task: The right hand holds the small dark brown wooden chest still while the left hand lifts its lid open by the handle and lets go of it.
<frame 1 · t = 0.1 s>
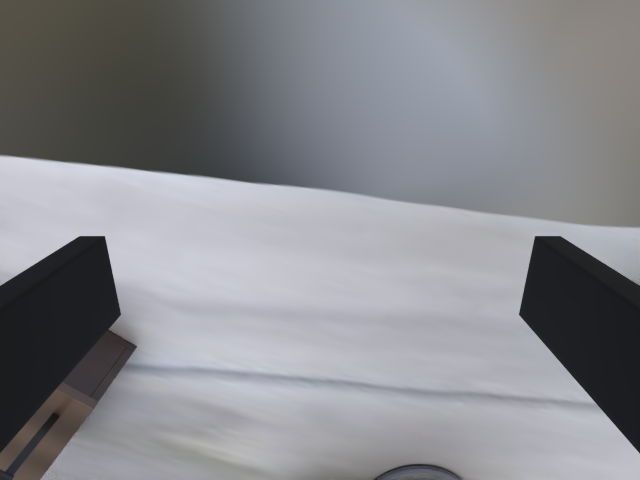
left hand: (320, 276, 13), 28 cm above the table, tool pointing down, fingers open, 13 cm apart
chest: (67, 372, 48), on the table
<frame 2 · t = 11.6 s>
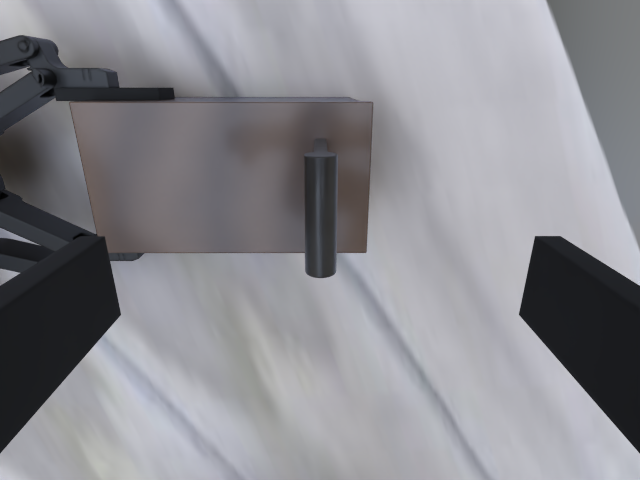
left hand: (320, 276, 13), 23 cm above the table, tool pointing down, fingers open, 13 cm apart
chest: (249, 155, 34), on the table, touching right hand
lid: (214, 196, 22), point 13 cm above the table, hinge at 0.0°
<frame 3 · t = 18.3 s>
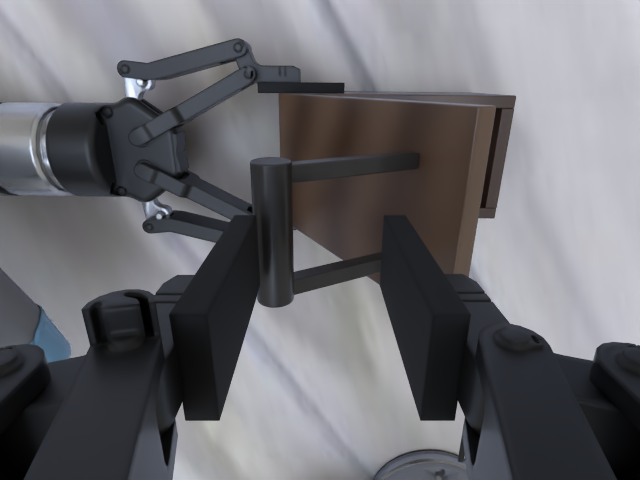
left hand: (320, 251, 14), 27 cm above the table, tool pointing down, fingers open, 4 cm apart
right hand: (341, 152, 33), fingers closed on chest, 9 cm apart
chest: (379, 142, 39), on the table, touching right hand
lid: (291, 190, 21), point 19 cm above the table, hinge at 60.2°
when the right hand's fingers open (6 cm above the table, at t = 20.9 s): chest stays where it is, on the table.
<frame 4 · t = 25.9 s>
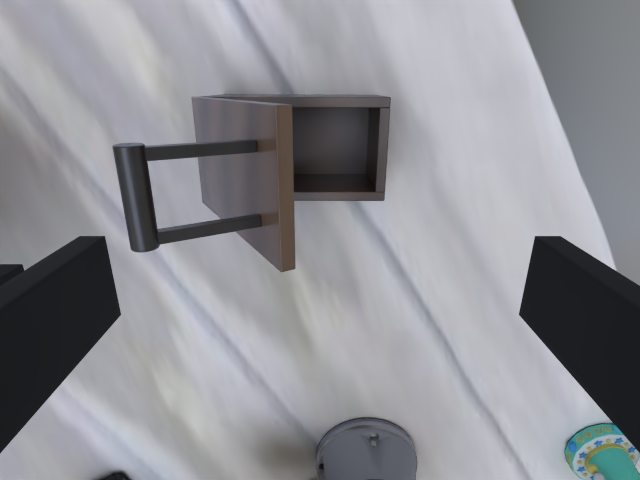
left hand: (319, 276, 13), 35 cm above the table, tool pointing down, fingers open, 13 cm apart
chest: (300, 138, 45), on the table
decorative hourglass: (596, 447, 62), on the table
lid: (181, 173, 27), point 19 cm above the table, hinge at 59.9°
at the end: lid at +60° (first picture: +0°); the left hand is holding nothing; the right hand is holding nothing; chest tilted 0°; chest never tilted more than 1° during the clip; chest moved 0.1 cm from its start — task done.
